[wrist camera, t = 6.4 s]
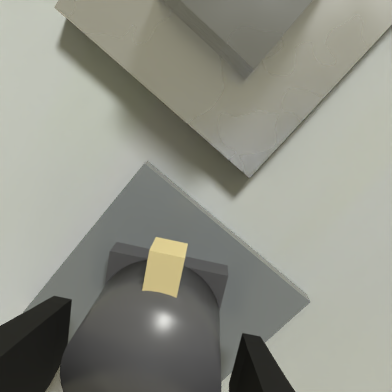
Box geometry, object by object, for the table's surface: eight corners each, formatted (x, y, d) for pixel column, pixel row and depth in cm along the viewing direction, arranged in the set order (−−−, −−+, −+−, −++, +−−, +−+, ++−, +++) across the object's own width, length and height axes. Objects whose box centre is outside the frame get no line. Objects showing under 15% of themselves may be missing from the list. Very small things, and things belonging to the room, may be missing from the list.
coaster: (306, 294, 12) (310, 301, 12) (176, 411, 14) (175, 422, 14) (147, 161, 11) (144, 163, 11) (30, 305, 13) (23, 312, 13)
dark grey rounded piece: (206, 360, 13) (202, 460, 9) (100, 338, 13) (53, 427, 9) (238, 233, 11) (250, 290, 8) (118, 208, 11) (72, 253, 8)
